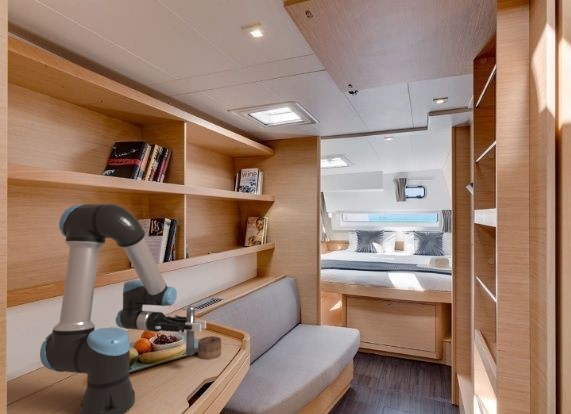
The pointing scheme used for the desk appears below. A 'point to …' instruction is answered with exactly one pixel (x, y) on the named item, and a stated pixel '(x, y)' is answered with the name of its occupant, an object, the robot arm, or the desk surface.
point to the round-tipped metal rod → (190, 333)
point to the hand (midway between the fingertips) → (202, 326)
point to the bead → (209, 347)
